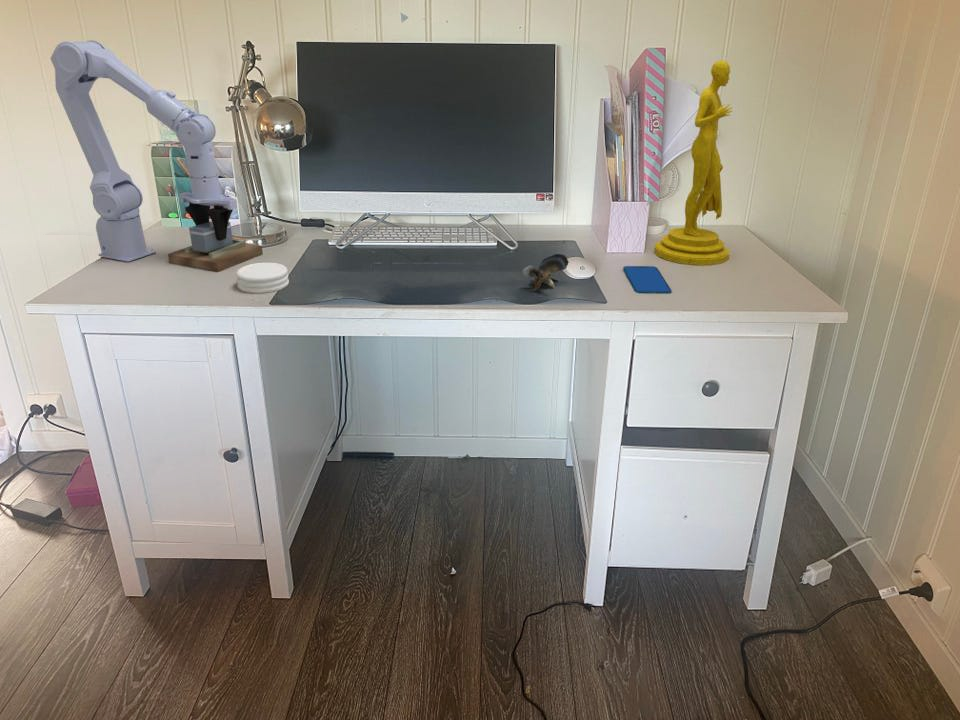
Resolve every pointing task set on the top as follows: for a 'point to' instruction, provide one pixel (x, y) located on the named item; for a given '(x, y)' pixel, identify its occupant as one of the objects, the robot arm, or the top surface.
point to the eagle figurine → (546, 270)
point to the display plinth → (216, 256)
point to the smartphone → (646, 279)
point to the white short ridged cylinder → (262, 277)
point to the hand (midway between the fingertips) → (213, 238)
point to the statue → (702, 185)
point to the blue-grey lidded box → (208, 237)
